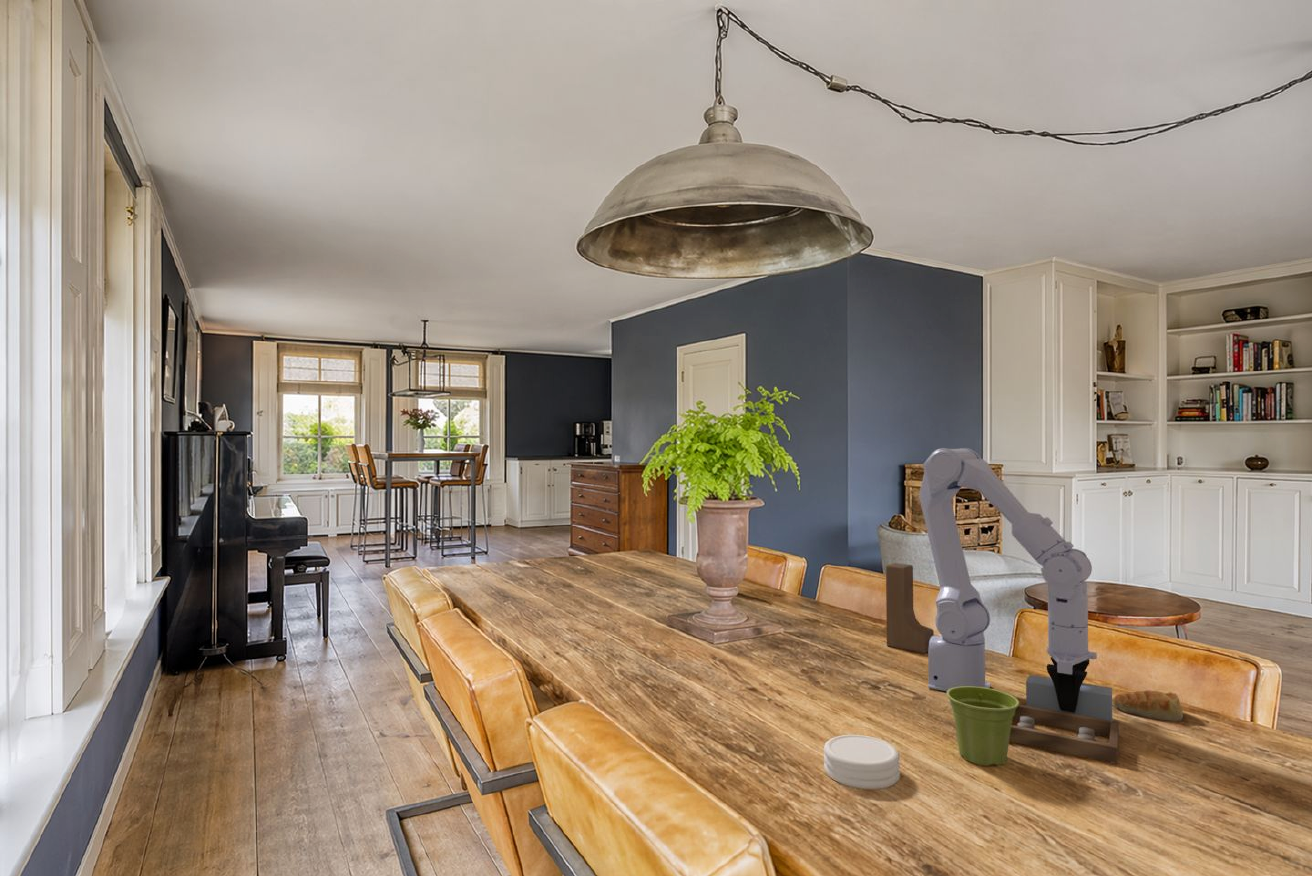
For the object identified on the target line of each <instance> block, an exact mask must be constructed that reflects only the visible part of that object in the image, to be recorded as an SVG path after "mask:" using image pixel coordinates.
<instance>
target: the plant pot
mask: <svg viewBox="0 0 1312 876" xmlns="http://www.w3.org/2000/svg"><path fill="white" fill-rule="evenodd" d="M946 697H947V699H949V701H950V706H951V708H952V713H953V719H954V720H953V721H954V726H955V732H956V739H957V746H958V752H959V753H958V754H959V755H960V756H962V757H963V758H964V759H965V761H968V762H970V763H972V764H977V765H980V766H986V767H989V766H991V765H997V766H1002V765H1004V764H1006V762H1007V760H1008V751H1009V743H1010V741H1009V738H1010V731H1011V725H1013V720H1014V719H1013V716H1014V715H1015V709H1016V708H1017V707H1018V706H1019V704H1020V701H1019V700H1018V699H1017V697H1016V696H1013V695H1011V694H1010V693H1007V692H1004V691H1001V690H997V689H994V688H984V687H974V686H960V687H954V688H951V689H949V690H947V691H946Z"/></svg>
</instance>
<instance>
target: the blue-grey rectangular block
mask: <svg viewBox="0 0 1312 876" xmlns="http://www.w3.org/2000/svg"><path fill="white" fill-rule="evenodd" d="M1025 702H1026V703H1025V704H1026V706H1031V707H1037V708H1042V709H1048V710H1054V711H1059V712H1065V713H1070V714H1076V715H1081V716H1087V717H1093V718H1098V719H1104V720H1109V721H1113V687H1109V686H1103V685H1098V684H1093V683H1085V682H1082V685H1081V687H1080V690H1079V696H1078V702H1077V707H1076V711H1075V713H1073V712H1067V711H1062V710H1060V707H1059V704H1058V699H1057V695H1056V690H1055V687H1054V684H1053V681H1052V679H1051V677H1047V676H1040V675H1034V674H1028V677H1027V679H1026V681H1025Z"/></svg>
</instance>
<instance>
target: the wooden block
mask: <svg viewBox="0 0 1312 876" xmlns="http://www.w3.org/2000/svg"><path fill="white" fill-rule="evenodd" d="M885 593H886V594H885V607H886V609H885V610H886V611H885V612H886V613H885V614H886V615H885V616H886V621H885V622H886V623H885V624H886V646H888V647H890V646H891V647H890V648H895V649H900V650H906V651H911V652H914V651H915V652H916V653H919V652H920V654H924V653H925V654H928V653H927V652H928V650H929V642H930V639H931V637H932V636H935V634H934V629H932V628H930V627H927V626H926V625H925V626H924V625H922V624H921V622H920V621H919V620H918V619H917V617H916V615H915V611H914V567H913V565H912V564H905V563H898V562H895V563H891V564H888V565H886V566H885Z"/></svg>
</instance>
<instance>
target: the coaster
mask: <svg viewBox="0 0 1312 876" xmlns="http://www.w3.org/2000/svg"><path fill="white" fill-rule="evenodd" d="M823 752H824V755H823V761H824V763H823V768H824V771H825V773H826V774H827V775H828V777H830V778H831V779H833V780H834V781H835V782H837V783H839V784H842V785H844V786H848V787H851V788H856V789H861V790H881V789H886V788H890V787H891V786H893V785H895V784H897V782H898V781H899V779H900V776H901V773H900V767H901V765H900V758H901V757H900V752H899V751H898V750H897V748H896V747H895V746H893V745H892V744H891V743H889V742H887V741H885V740H883V739H880V738H877V737H873V736H869V735H868V736H867V735H862V734H844V735H842V734H841V735H838V736H834V737H832V738H830V739H828V740H827V741H826V742H825V744H824V746H823Z"/></svg>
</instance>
